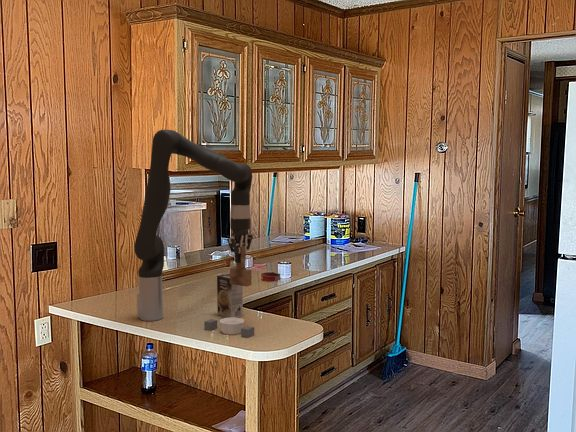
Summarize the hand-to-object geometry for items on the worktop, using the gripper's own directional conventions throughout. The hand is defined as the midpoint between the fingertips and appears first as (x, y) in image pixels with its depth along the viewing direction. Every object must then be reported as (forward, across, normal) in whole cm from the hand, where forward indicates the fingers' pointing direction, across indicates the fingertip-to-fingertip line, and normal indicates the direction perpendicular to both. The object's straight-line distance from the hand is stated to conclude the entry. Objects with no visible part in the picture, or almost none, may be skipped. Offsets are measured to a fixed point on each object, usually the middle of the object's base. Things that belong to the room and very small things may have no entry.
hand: (240, 262), depth 237 cm
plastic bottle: (+25, -20, -17) cm, 37 cm away
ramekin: (+25, +8, +2) cm, 26 cm away
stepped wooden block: (+9, 0, 0) cm, 9 cm away
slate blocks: (+24, +10, +2) cm, 26 cm away
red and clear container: (+25, -75, -36) cm, 87 cm away
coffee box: (+25, -9, -12) cm, 29 cm away
